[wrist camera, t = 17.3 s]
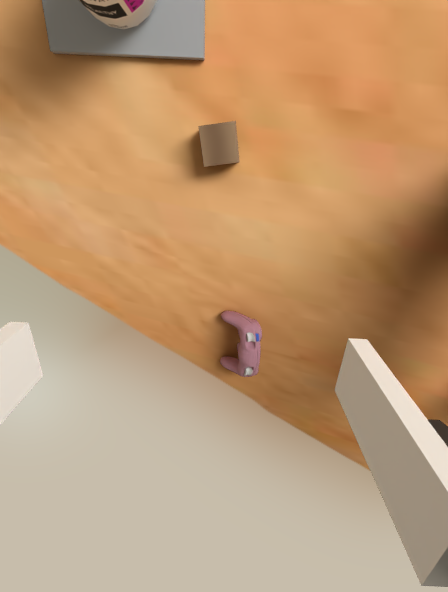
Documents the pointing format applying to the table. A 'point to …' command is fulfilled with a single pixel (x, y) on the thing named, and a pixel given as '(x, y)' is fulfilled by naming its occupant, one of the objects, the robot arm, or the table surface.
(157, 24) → the grey rubber mat
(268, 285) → the table surface
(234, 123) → the walnut block
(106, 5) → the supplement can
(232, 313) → the video game controller
